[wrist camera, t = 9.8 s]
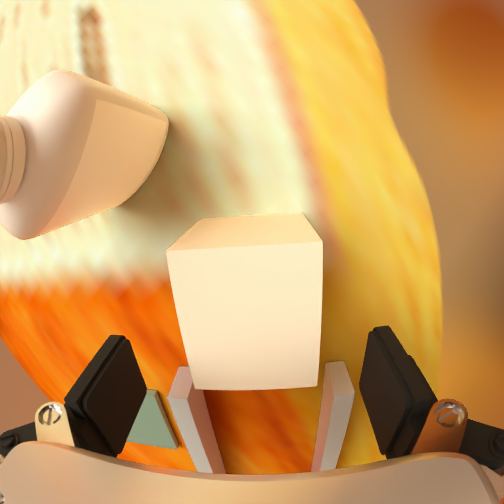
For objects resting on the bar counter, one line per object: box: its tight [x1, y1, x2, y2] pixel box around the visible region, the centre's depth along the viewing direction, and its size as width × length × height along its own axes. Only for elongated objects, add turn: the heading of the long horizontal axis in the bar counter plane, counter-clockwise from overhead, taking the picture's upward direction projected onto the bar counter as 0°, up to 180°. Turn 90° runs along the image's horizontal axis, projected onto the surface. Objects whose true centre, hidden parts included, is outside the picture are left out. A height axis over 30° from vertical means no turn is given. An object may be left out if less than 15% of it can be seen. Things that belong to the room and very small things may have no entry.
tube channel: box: [167, 361, 355, 474], centre depth 17 cm, size 14×10×3 cm
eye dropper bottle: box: [0, 70, 169, 240], centre depth 8 cm, size 4×6×12 cm
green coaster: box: [126, 389, 179, 449], centre depth 19 cm, size 7×7×1 cm
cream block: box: [166, 213, 323, 390], centre depth 12 cm, size 6×5×6 cm
